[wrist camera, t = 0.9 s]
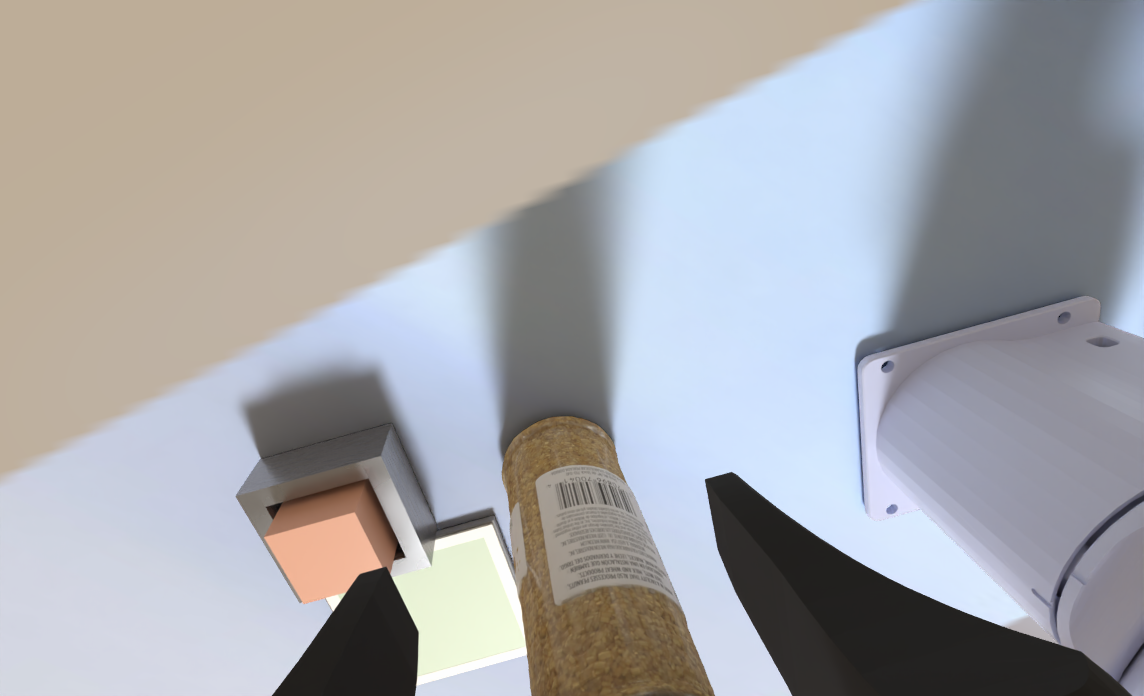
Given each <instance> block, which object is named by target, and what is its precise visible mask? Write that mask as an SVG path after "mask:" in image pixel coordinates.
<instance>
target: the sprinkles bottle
mask: <svg viewBox="0 0 1144 696" xmlns="http://www.w3.org/2000/svg"><path fill="white" fill-rule="evenodd" d="M502 480H503V484H504V487H505V489H506V492H507V495H508V501H509V511H510V518H511V519H510V536H511V546H512V554H513V562H514V570H515V580H516V587H517V595H518V599H519V602H520V605H521V610H522V621H523V627H524V635H525V642H526V649H527V658H528V664H529V677H530V689H531V694H532V696H715V695H714V692H713V688H712V686H711V685H710V682H709V680H708V677H707V674H706V672H705V669H704V666H703V664H702V662H701V659H700V657H699V654H698V652H697V650H696V647H695V645H694V643H693V640H692V637H691V635H690V632H689V630H688V628H687V622H686V618H685V615H684V612H683V610H682V607H681V605H680V603H679V600H678V598H677V595H676V593H675V591H674V588H673V586H672V583H671V581H670V579H669V577H668V574H667V572H666V569H665V567H664V564H663V562H662V560H661V557H660V555H659V552H658V550H657V548H656V545H655V543H654V541H653V538H652V536H651V534H650V531H649V529H648V526H647V524H646V522H645V519H644V517H643V515H642V513H641V510H640V508H639V506H638V503H637V501H636V499H635V496H634V494H633V492H632V491H631V489H630V488H629V486H628V485H627V483H626V481H625V478H624V476H623V473H622V471H621V469H620V466H619V464H618V458H617V453H616V450H615V446H614V444H613V442H612V440H611V438H610V437H609V436H608V434H607V433H606V432H605V431H604V430H603V429H602V428H600V427H599V426H598V425H597V424H595V423H592V422H590V421H588V420H585V419H582V418H576V417H573V416H560V417H551V418H547V419H544V420H541V421H538V422H536V423H534V424H533V425H531V426H530V427H528V428H527V429H525V430H523V431H522V432H521V433H520V434H518V435H517V436H516V437H515V438H514V439H513V441H512V442H511V444H510V446H509V447H508V449H507V451H506V454H505V457H504V462H503V467H502Z"/></svg>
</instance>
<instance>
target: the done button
mask: <svg viewBox="0 0 1144 696" xmlns="http://www.w3.org/2000/svg"><path fill="white" fill-rule="evenodd" d="M264 539H265V540H266V542H267V544H268V545H269V547H270V549H271V550H272V552H273V554H274V555H275V557H276V559H277V560H278V562H279V564H280V565H281V567H282V569H283V570H284V572H285V574H286V575H287V577H288V579H289V580H290V582H291V584H292V586H293V587H294V589H295V591H296V592H297V594H298V596H299V597H300V599H301V601H302V602H303V604H306V603H309V602H313V601H317V600H320V599H324V598H327V597H331V596H335V595H338V594H342V593H345V592H347V591H348V589H349V588H350V586H351V585H352V584H353V582H354V581H355V579H356V578H357V577H358V575H359V574H361V573H365V572H368V571H372V570H376V569H379V568H383V567H387V568H388V570H389V572H390V574H391V570H392V565H393V561H394V557H395V552H396V548H397V544H398V539H397V537H396V535H395V533H394V531H393V529H392V527H391V524H390V522H389V520H388V518H387V516H386V514H385V512H384V510H383V508H382V506H381V504H380V501H379V499H378V497H377V495H376V493H375V491H374V489H373V487H372V485H371V483H370V480H369V478H368V479H364V480H361V481H357V482H353V483H350V484H346V485H343V486H339V487H335V488H332V489H328V490H325V491H321V492H317V493H314V494H310V495H306V496H303V497H299V498H296V499H292V500H288V501H285V502H283V503H282V505H281V506H280V508H279V510H278V512H277V514H276V516H275V518H274V519H273V521H272V523H271V525H270V527H269V529H268V531H267V532H266V534H265V536H264Z"/></svg>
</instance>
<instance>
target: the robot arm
mask: <svg viewBox="0 0 1144 696" xmlns="http://www.w3.org/2000/svg"><path fill="white" fill-rule="evenodd" d="M1100 309H1101V305H1100V302H1099V300H1098V299H1095V298H1092V297H1089V296H1081V297H1078V298H1074V299H1071V300H1067V301H1063V302H1060V303H1056V304H1052V305H1049V306H1045V307H1042V308H1038V309H1034V310H1031V311H1027V312H1024V313H1020V314H1016V315H1013V316H1009V317H1005V318H1002V319H998V320H995V321H991V322H987V323H984V324H980V325H977V326H973V327H969V328H966V329H962V330H958V331H955V332H951V333H948V334H944V335H940V336H937V337H933V338H930V339H926V340H922V341H919V342H915V343H911V344H908V345H904V346H901V347H897V348H893V349H890V350H886V351H883V352H879V353H875V354H872V355H869V356H866V357H864V358H863V359H862V360H861V361H860V363H859V365H858V370H857V371H858V390H859V409H860V427H861V446H862V465H863V484H864V502H865V512H866V514H867V515H868V516H869V517H870V518H871V519H872V520H874V521H881V520H885V519H888V518H892V517H895V516H899V515H903V514H906V513H910V512H913V511H917V510H921V511H922V512H923V513H924V514H925V515H926V516H927V517H928V518H929V519H930V520H931V521H933V522H934V523H935V524H936V525H937V526H938V527H939V528H940V529H941V530H942V531H943V532H944V533H945V534H946V535H947V536H948V537H949V538H950V539H951V540H952V541H953V542H954V543H955V544H956V545H957V546H958V547H959V548H960V549H961V550H962V551H963V552H964V553H965V554H966V555H967V556H968V557H970V558H971V559H972V560H973V561H974V562H975V563H976V564H977V565H978V566H979V567H980V568H981V569H982V570H983V571H984V572H985V573H986V574H987V575H988V576H989V577H990V578H991V579H992V580H993V581H994V582H995V583H996V584H997V585H998V586H999V587H1000V588H1001V589H1002V590H1003V591H1004V592H1006V593H1007V594H1008V595H1009V596H1010V597H1011V598H1012V599H1013V600H1014V601H1015V602H1016V603H1017V604H1018V605H1019V606H1020V607H1021V608H1022V609H1023V610H1024V611H1025V612H1026V613H1027V614H1028V615H1029V616H1030V617H1031V618H1032V619H1033V620H1034V621H1035V622H1036V623H1038V625H1039V626H1040V627H1042V628H1043V629H1044V630H1045V631H1046V632H1047V633H1048V634H1049V635H1050V636H1051V637H1052V638H1053V639H1054V640H1055V641H1056V642H1057V643H1058V644H1055V643H1052V642H1049V641H1046V640H1042V639H1039V638H1036V637H1033V636H1030V635H1027V634H1023V633H1019V632H1017V631H1014V630H1011V629H1008V628H1005V627H1002V626H1000V625H997V624H994V623H992V622H989V621H986V620H983V619H981V618H978V617H975V616H973V615H970V614H967V613H965V612H962V611H960V610H957V609H955V608H953V607H950V606H948V605H945V604H943V603H941V602H939V601H936V600H934V599H932V598H930V597H927V596H925V595H923V594H921V593H918V592H916V591H914V590H912V589H909V588H907V587H905V586H903V585H901V584H899V583H897V582H895V581H893V580H891V579H889V578H887V577H885V576H883V575H881V574H880V573H878V572H876V571H874V570H872V569H870V568H868V567H867V566H865V565H863V564H861V563H860V562H858V561H856V560H854V559H853V558H851V557H849V556H848V555H846V554H844V553H843V552H841V551H839V550H838V549H836V548H835V547H833V546H832V545H830V544H828V543H827V542H825V541H824V540H822V539H821V538H819V537H818V536H816V535H815V534H813V533H812V532H810V531H809V530H807V529H806V528H804V527H803V526H802V525H800V524H799V523H797V522H796V521H795V520H793V519H792V518H790V517H789V516H788V515H786V514H785V513H784V512H782V511H781V510H780V509H778V508H777V507H776V506H774V505H773V504H772V503H770V502H769V501H768V500H767V499H765V498H764V497H763V496H762V495H760V494H759V493H758V492H757V491H755V490H754V489H753V488H752V487H751V486H749V485H748V484H747V483H746V482H745V481H743V480H742V479H741V478H740V477H739V476H738V475H736V474H734V473H733V472H730V473H727V474H723V475H719V476H716V477H712V478H708V479H705V483H706V488H707V493H708V499H709V504H710V510H711V515H712V521H713V526H714V531H715V537H716V542H717V548H718V551H719V554H720V556H721V559H722V561H723V563H724V566H725V568H726V571H727V573H728V576H729V578H730V580H731V583H732V585H733V587H734V590H735V592H736V594H737V596H738V598H739V599H740V601H741V603H742V605H743V607H744V609H745V610H746V612H747V614H748V616H749V618H750V619H751V621H752V623H753V625H754V627H755V629H756V630H757V632H758V634H759V636H760V638H761V639H762V641H763V643H764V645H765V647H766V648H767V650H768V652H769V654H770V656H771V657H772V659H773V661H774V663H775V665H776V666H777V668H778V670H779V672H780V674H781V675H782V677H783V679H784V681H785V683H786V684H787V686H788V688H789V690H790V692H791V694H792V696H1144V338H1142V337H1139V336H1136V335H1134V334H1131V333H1128V332H1126V331H1123V330H1120V329H1117V328H1115V327H1112V326H1109V325H1107V324H1104V323H1101V322H1099V317H1100ZM1061 313H1062V314H1061ZM1060 314H1061V316H1060ZM1059 316H1060V317H1059ZM1058 317H1059V318H1058ZM886 361H888V364H887V365H886V366H885V367H884V368H882V369H881V367H882V365H883V363H884V362H886ZM890 505H891V506H890ZM888 506H890V507H888ZM887 507H888V508H887ZM418 645H419V631H418V629H417V627H416V625H415V623H414V621H413V619H412V617H411V615H410V613H409V611H408V609H407V607H406V605H405V603H404V601H403V599H402V597H401V595H400V593H399V591H398V589H397V587H396V585H395V583H394V581H393V579H392V577H391V575H390V572H389V570H388V568H387V567H383V568H379V569H376V570H372V571H368V572H365V573H361V574H359V575H358V577H357V578H356V579H355V581H354V582H353V584H352V585H351V586H350V588H349V589H348V591H347V592H346V594H345V595H344V596H343V598H342V599H341V601H340V602H339V604H338V605H337V607H336V608H335V610H334V611H333V613H332V614H331V615H330V617H329V618H328V620H327V621H326V623H325V624H324V626H323V627H322V628H321V630H320V631H319V633H318V634H317V636H316V637H315V638H314V640H313V641H312V643H311V644H310V646H309V647H308V648H307V650H306V651H305V653H304V654H303V655H302V657H301V658H300V660H299V661H298V662H297V664H296V665H295V666H294V668H293V669H292V670H291V671H290V673H289V674H288V675H287V677H286V678H285V679H284V681H283V682H282V683H281V685H280V686H279V687H278V689H277V690H276V691H275V692H274V694H273V695H272V696H415V691H416V684H417V672H418Z"/></svg>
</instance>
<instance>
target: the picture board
mask: <svg viewBox="0 0 1144 696" xmlns="http://www.w3.org/2000/svg"><path fill="white" fill-rule="evenodd" d="M392 579H393V581H394V583H395V585H396V587H397V589H398V591H399V593H400V595H401V597H402V599H403V601H404V603H405V605H406V607H407V609H408V611H409V613H410V615H411V617H412V619H413V621H414V623H415V625H416V627H417V629H418V631H419V645H418V672H417V684H416V685H420V684H423V683H427V682H431V681H434V680H438V679H441V678H445V677H449V676H452V675H456V674H459V673H463V672H467V671H470V670H474V669H477V668H481V667H484V666H488V665H492V664H495V663H499V662H502V661H506V660H510V659H513V658H517V657H520V656H524V655H527V649H526V642H525V635H524V627H523V621H522V610H521V605H520V602H519V599H518V595H517V587H516V580H515V570H514V566H513V564H512V561H511V558H510V556H509V553H508V551H507V548H506V545H505V543H504V540H503V537H502V535H501V532H500V530H499V527H498V524H497V522H496V519H495V517H494V515H493V516H489V517H486V518H482V519H478V520H475V521H471V522H468V523H464V524H460V525H457V526H453V527H450V528H446V529H442V530H439V531H437V532H436V538H435V545H434V552H433V559H432V566H431V567H427V568H424V569H420V570H417V571H413V572H409V573H406V574H402V575H399V576H395V577H392ZM345 594H346V592H345V593H342V594H338V595H335V596H331V597H327V598H325V599H326V601H327V603H328V605H329V606H330V608H331V610H332V612H333V611H334V610H335V608H336V607H337V605H338V604H339V602H340V601H341V599H342V598H343V596H344V595H345Z"/></svg>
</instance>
